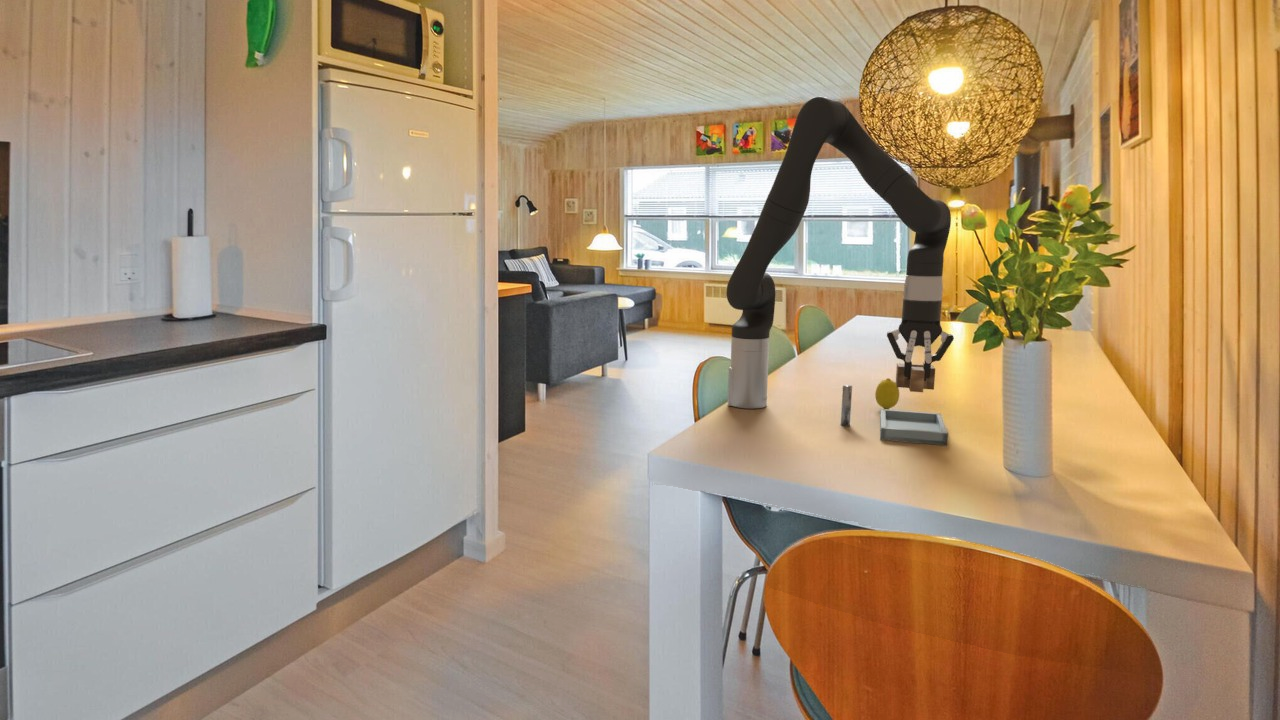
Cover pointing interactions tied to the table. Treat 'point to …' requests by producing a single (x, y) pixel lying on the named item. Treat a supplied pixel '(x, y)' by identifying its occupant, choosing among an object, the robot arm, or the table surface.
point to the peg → (846, 405)
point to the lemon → (887, 394)
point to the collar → (915, 378)
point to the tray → (913, 427)
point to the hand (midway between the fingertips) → (916, 379)
